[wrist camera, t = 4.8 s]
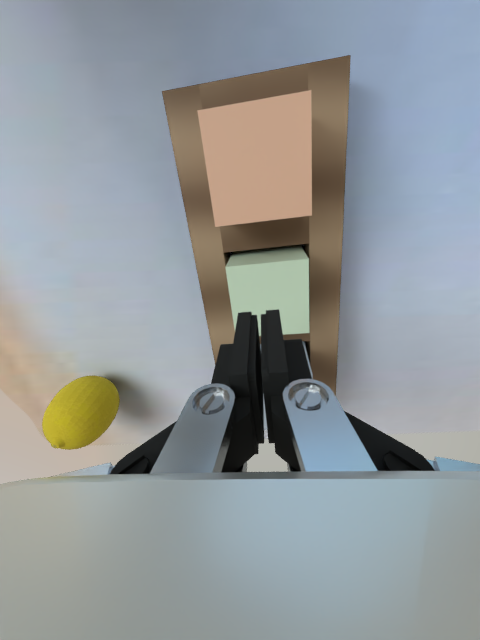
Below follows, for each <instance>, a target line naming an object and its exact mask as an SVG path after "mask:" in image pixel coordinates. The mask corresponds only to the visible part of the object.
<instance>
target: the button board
mask: <svg viewBox="0 0 480 640" xmlns="http://www.w3.org/2000/svg"><path fill="white" fill-rule="evenodd" d="M349 78H350V55H348V56H343V57H338V58H333V59H328V60H322V61H317V62H312V63H307V64H302V65H296V66H291V67H286V68H281V69H276V70H270V71H265V72H260V73H255V74H250V75H244V76H239V77H234V78H229V79H224V80H218V81H213V82H208V83H203V84H198V85H192V86H187V87H182V88H177V89H172V90H167V91H162V94H163V99H164V105H165V110H166V115H167V120H168V125H169V130H170V135H171V140H172V145H173V151H174V156H175V161H176V166H177V171H178V176H179V181H180V186H181V191H182V196H183V202H184V207H185V212H186V217H187V222H188V227H189V232H190V237H191V242H192V248H193V253H194V258H195V263H196V268H197V273H198V278H199V283H200V288H201V294H202V299H203V304H204V309H205V314H206V319H207V324H208V329H209V334H210V339H211V345H212V350H213V355H214V360H215V365H216V361H217V357H218V353H219V348H220V345H221V344H233V341H234V335H235V329H234V322H233V316H232V309H231V302H230V295H229V288H228V282H227V275H226V268H225V267H226V265H227V263H228V261H229V259H230V252H234V251H243V250H253V249H262V248H271V247H281V246H290V245H299V244H304V252H305V253H306V255H307V257H308V258H309V333H301V334H285V335H283V339H284V340H291V339H302V341H305V345H306V351H307V355H308V359H309V363H310V366H311V370H312V374H313V380H317V381H320V382H323V383H324V384H326V385H327V386H329V388H330V389H331V390H332V391H333V393H334V395H335V396H336V375H337V352H338V329H339V306H340V284H341V261H342V238H343V215H344V192H345V169H346V146H347V124H348V101H349ZM309 90H311V111H312V215H311V216H303V217H294V218H286V219H278V220H269V221H261V222H253V223H244V224H236V225H228V226H219V227H215V222H214V215H213V209H212V202H211V196H210V189H209V183H208V176H207V170H206V164H205V157H204V151H203V144H202V138H201V131H200V125H199V118H198V112H197V110H203V109H208V108H214V107H220V106H225V105H231V104H236V103H242V102H247V101H253V100H259V99H264V98H270V97H275V96H281V95H286V94H292V93H298V92H303V91H309ZM259 339H260V344H261V336H259Z"/></svg>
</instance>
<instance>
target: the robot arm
mask: <svg viewBox="0 0 480 640" xmlns="http://www.w3.org/2000/svg"><path fill="white" fill-rule="evenodd" d="M263 394H264V403H265V412H266V421H267V430H268V439H269V443H275V452H276V454H278V455H279V456H280V457H281V458H282V459H283V460H285V461H286V462H287V465H288V472H247V461H248V460H249V459H250V458H251V457H252V456H253V455H254V454H258V444H259V443H264V404H263ZM0 640H480V464H475V463H469V462H463V461H458V460H452V459H445V458H440V457H435V459H434V461H431V460H426V459H425V458H424V457H423V456H422V455H421V454H419V453H418V452H416V451H415V450H413V449H411V448H410V447H408V446H406V445H404V444H403V443H401V442H398V441H397V440H395V439H394V438H392V437H390V436H388V435H386V434H385V433H383V432H381V431H379V430H377V429H376V428H374V427H372V426H370V425H368V424H367V423H365V422H363V421H361V420H359V419H358V418H356V417H354V416H352V415H350V414H349V413H347V412H345V411H344V410H343V409H342V407H341V405H340V403H339V402H338V400H337V398H336V396H335V395H334V393H333V391H332V390H331V389H330V388H329V386H327V385H326V384H324V383H323V382H320V381H317V380H313V379H312V377H311V373H310V369H309V365H308V361H307V358H306V354H305V350H304V346H303V342H302V339H291V340H284V339H283V333H282V326H281V319H280V312H279V309H277V310H266V314H261V349H260V339H259V330H258V320H257V315H252V312H241V313H238V316H237V323H236V329H235V335H234V341H233V344H221V345H220V348H219V353H218V357H217V361H216V365H215V369H214V374H213V378H212V382H211V384H208V385H205V386H202V387H200V388H198V389H197V390H196V391H195V392H193V393H192V395H191V396H190V397H189V399H188V401H187V403H186V405H185V407H184V409H183V410H182V412H181V414H180V416H179V418H178V420H177V421H176V422H175V423H173V424H172V425H170V426H169V427H167V428H166V429H164V430H163V431H161V432H160V433H158V434H157V435H155V436H154V437H153V438H151V439H150V440H148V441H147V442H145V443H144V444H142V445H141V446H140V447H138V448H136V449H135V450H134V451H132V452H130V453H129V454H127V455H126V456H125V457H124V458H123V459H121V460H120V461H119V462H118V463H117V464H116V465H115V466H112V464H111V463H106V464H102V465H98V466H93V467H89V468H86V469H81V470H77V471H73V472H68V473H64V474H60V475H56V476H51V477H47V478H35V479H27V480H21V481H15V482H8V483H4V484H0Z"/></svg>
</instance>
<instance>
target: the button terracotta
mask: <svg viewBox="0 0 480 640" xmlns="http://www.w3.org/2000/svg"><path fill="white" fill-rule="evenodd" d="M197 112H198V118H199V125H200V131H201V138H202V144H203V151H204V157H205V164H206V170H207V176H208V183H209V189H210V196H211V202H212V209H213V215H214V222H215V227H219V226H228V225H236V224H244V223H253V222H261V221H269V220H278V219H286V218H294V217H303V216H311V215H312V111H311V90H309V91H303V92H298V93H292V94H286V95H281V96H275V97H270V98H264V99H259V100H253V101H247V102H242V103H236V104H231V105H225V106H220V107H214V108H208V109H203V110H197Z"/></svg>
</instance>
